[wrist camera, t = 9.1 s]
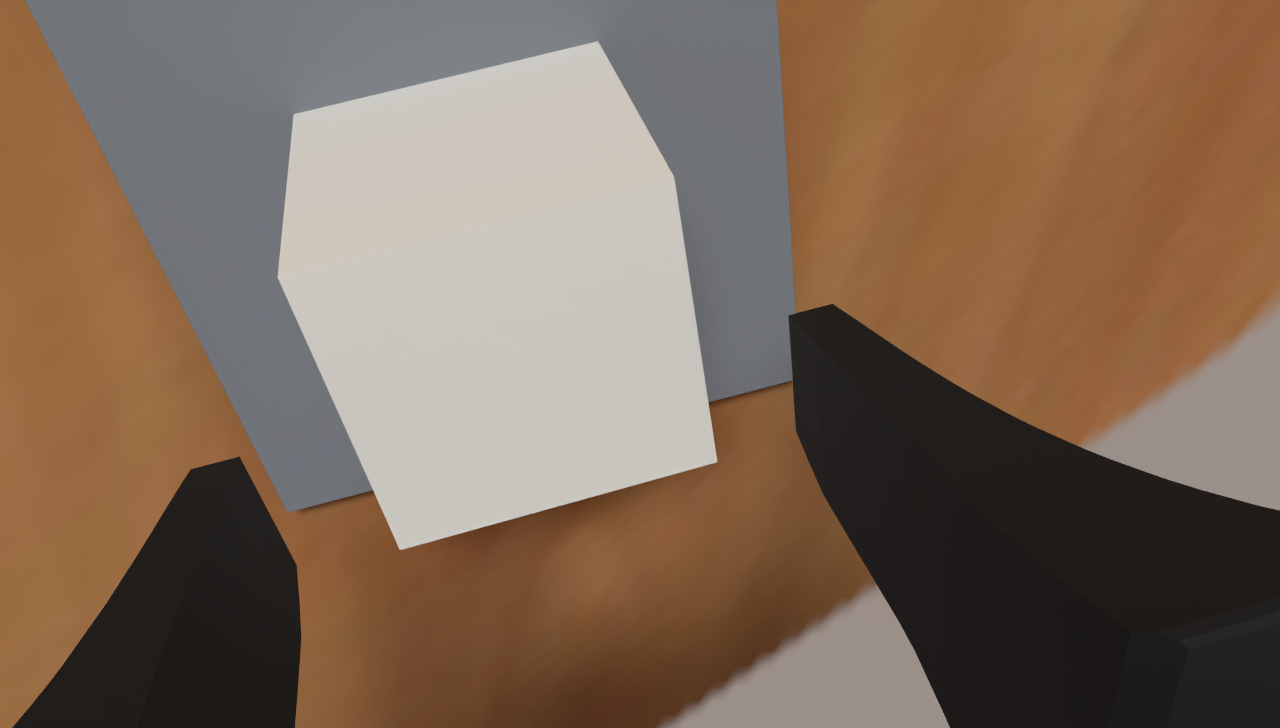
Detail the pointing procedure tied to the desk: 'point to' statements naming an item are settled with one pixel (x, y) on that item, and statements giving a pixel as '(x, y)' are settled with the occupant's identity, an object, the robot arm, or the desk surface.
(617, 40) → the mat
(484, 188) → the cube
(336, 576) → the desk surface
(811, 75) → the desk surface
